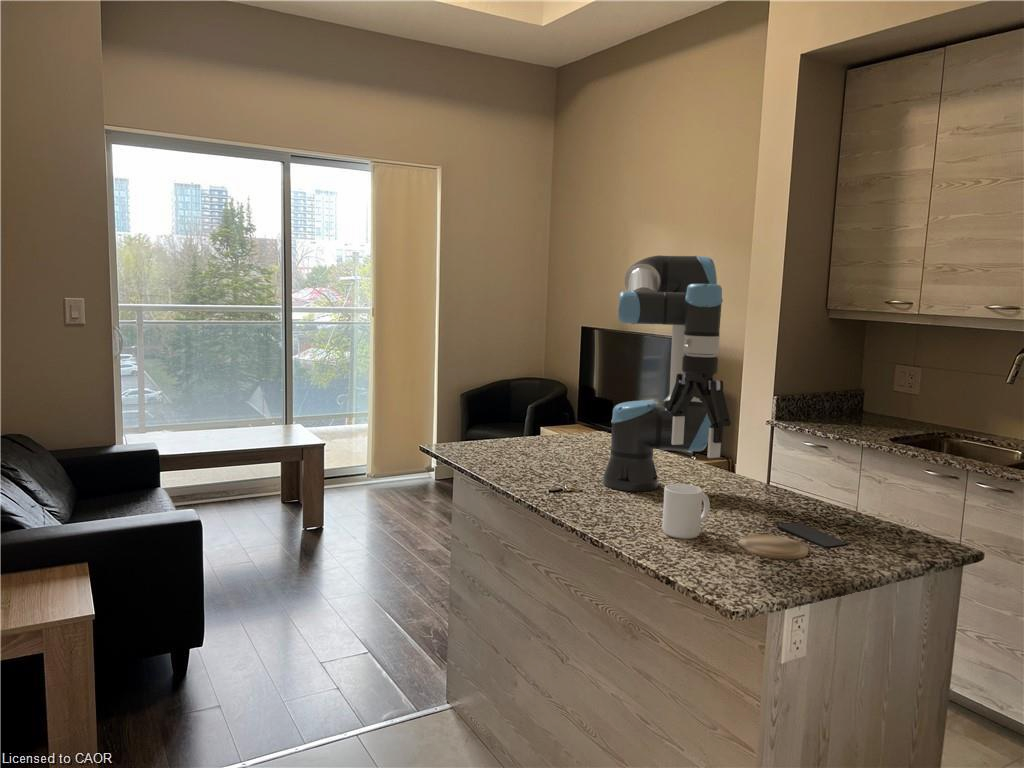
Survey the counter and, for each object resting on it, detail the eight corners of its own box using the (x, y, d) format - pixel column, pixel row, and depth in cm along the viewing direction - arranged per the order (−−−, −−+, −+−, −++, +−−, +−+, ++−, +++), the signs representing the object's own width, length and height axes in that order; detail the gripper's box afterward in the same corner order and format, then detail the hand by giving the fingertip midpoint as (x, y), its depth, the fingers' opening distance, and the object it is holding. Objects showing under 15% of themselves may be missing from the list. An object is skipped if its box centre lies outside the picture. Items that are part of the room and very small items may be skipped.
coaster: (725, 540, 161) (725, 537, 161) (777, 534, 166) (777, 531, 166) (768, 562, 148) (768, 559, 148) (823, 555, 153) (823, 552, 153)
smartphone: (826, 547, 157) (774, 524, 171) (825, 551, 158) (774, 528, 171) (851, 543, 161) (798, 521, 174) (850, 547, 161) (798, 525, 174)
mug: (696, 523, 172) (698, 480, 171) (720, 534, 165) (723, 489, 164) (654, 529, 167) (656, 485, 166) (678, 541, 160) (680, 495, 158)
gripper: (654, 350, 171) (650, 440, 174) (722, 360, 148) (715, 464, 151) (682, 350, 174) (677, 438, 177) (752, 360, 151) (745, 462, 154)
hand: (694, 450), depth 164 cm, fingers open, 13 cm apart
